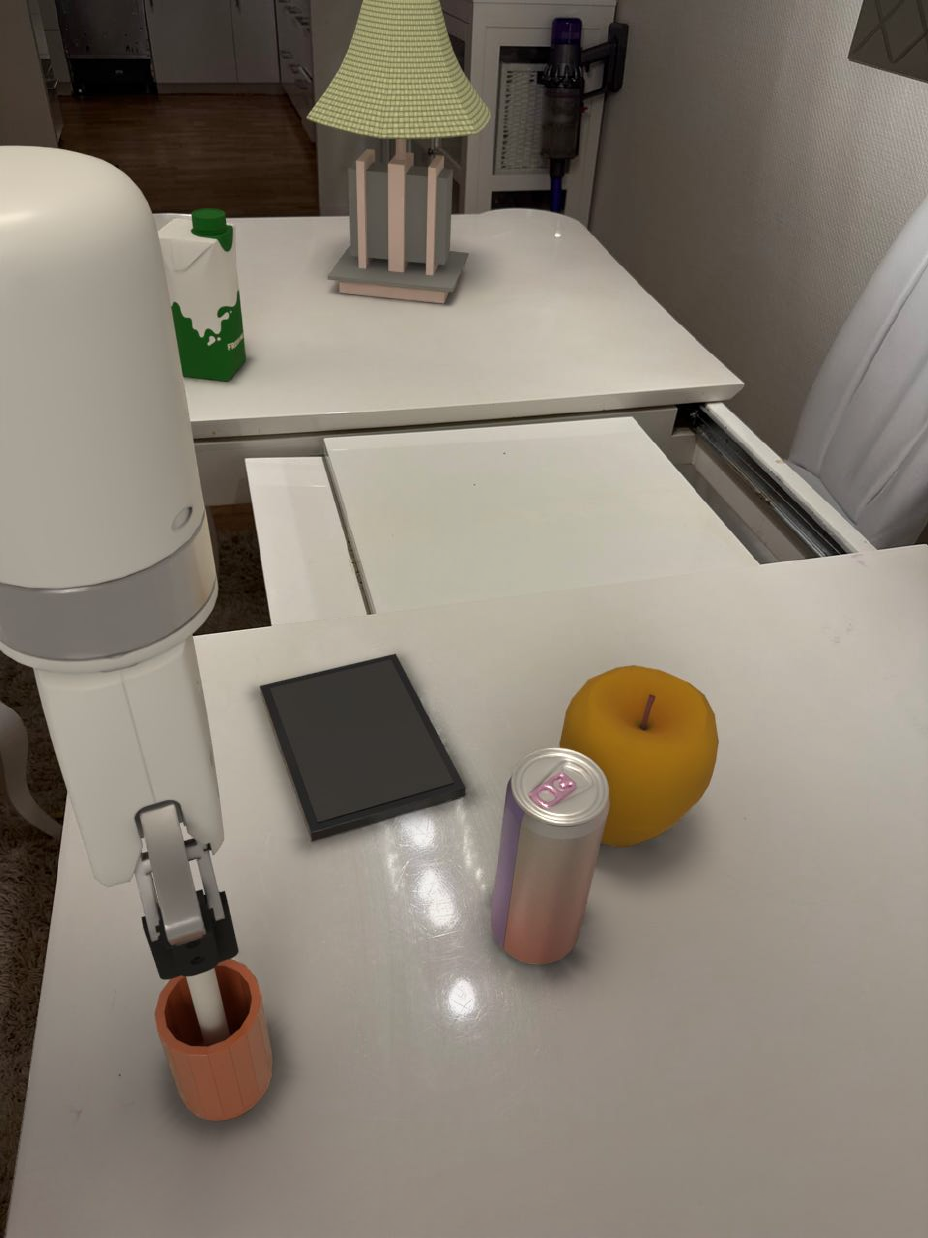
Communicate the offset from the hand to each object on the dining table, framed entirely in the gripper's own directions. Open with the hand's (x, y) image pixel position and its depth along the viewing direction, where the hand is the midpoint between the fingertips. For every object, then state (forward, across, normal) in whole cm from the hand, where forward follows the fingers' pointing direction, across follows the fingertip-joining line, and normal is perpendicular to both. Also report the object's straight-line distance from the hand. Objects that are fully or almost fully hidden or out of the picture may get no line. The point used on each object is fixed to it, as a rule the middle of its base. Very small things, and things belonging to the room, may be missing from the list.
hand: (179, 870), depth 42 cm
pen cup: (+20, 0, 0) cm, 20 cm away
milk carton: (+19, -93, +17) cm, 96 cm away
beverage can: (+20, -2, +21) cm, 29 cm away
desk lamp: (+19, -116, +52) cm, 128 cm away
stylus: (+19, 0, 0) cm, 19 cm away
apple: (+20, -8, +31) cm, 37 cm away
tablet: (+19, -22, +15) cm, 33 cm away
